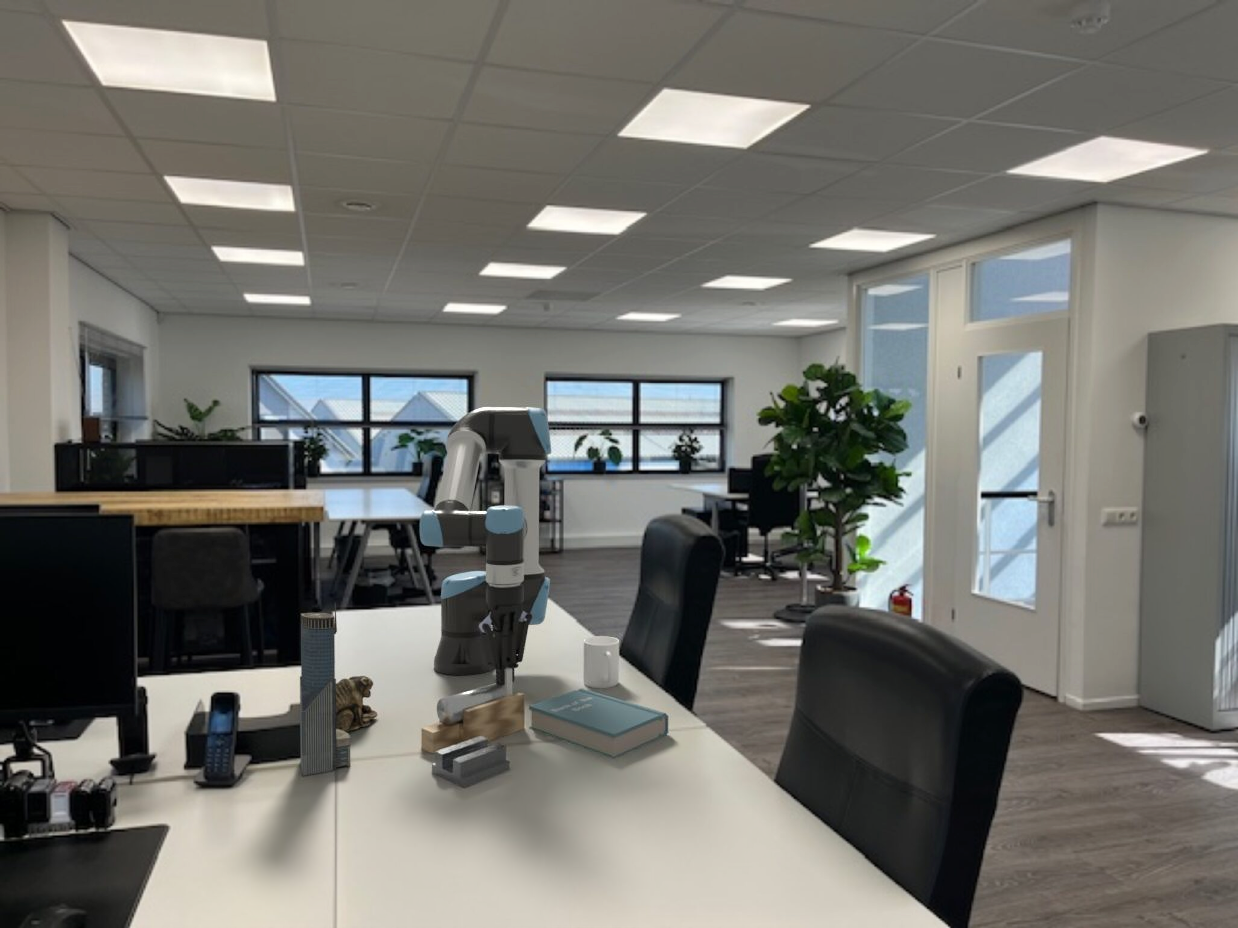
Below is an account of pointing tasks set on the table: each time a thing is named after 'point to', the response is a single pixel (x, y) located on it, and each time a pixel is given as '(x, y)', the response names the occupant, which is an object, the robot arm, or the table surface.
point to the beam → (478, 723)
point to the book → (598, 722)
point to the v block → (470, 761)
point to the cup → (601, 662)
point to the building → (320, 698)
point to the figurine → (353, 703)
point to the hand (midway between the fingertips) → (505, 699)
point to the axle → (467, 702)
